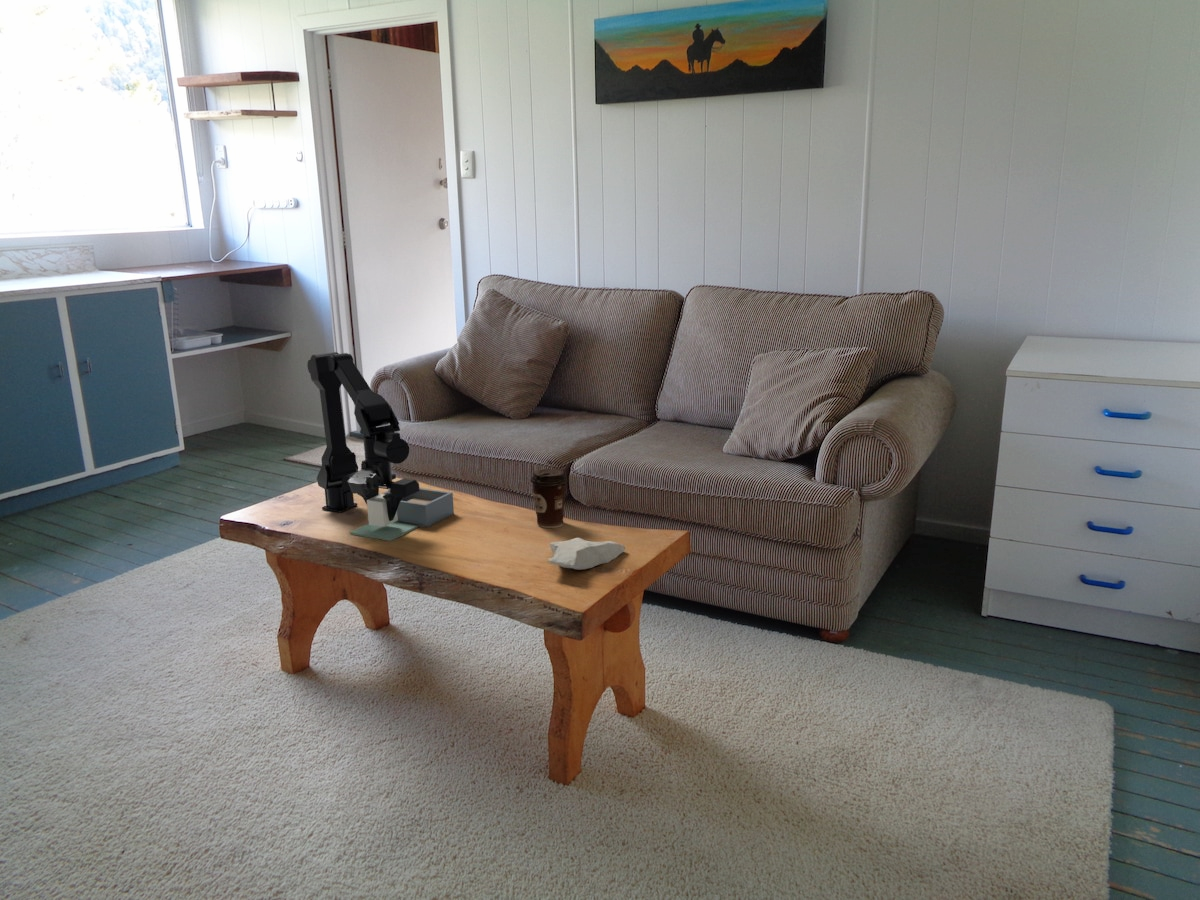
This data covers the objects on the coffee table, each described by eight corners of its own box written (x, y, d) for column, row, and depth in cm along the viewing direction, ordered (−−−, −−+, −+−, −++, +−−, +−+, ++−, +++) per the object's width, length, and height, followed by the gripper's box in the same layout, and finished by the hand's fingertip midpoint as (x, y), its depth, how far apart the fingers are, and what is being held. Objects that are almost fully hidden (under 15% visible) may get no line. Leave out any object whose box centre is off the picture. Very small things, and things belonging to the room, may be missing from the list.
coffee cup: (538, 532, 213) (535, 478, 210) (527, 521, 221) (525, 469, 218) (573, 526, 217) (571, 474, 213) (561, 516, 224) (559, 465, 221)
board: (350, 534, 215) (349, 532, 215) (377, 521, 224) (377, 519, 223) (390, 541, 210) (390, 539, 210) (417, 527, 218) (417, 525, 218)
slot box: (374, 518, 225) (372, 497, 224) (402, 505, 235) (400, 485, 233) (427, 527, 218) (425, 505, 217) (453, 513, 228) (452, 492, 226)
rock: (517, 570, 192) (570, 580, 183) (515, 549, 192) (569, 557, 182) (583, 548, 208) (635, 556, 199) (582, 528, 208) (634, 535, 198)
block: (368, 524, 215) (366, 500, 213) (382, 517, 219) (380, 494, 218) (384, 526, 213) (382, 502, 211) (397, 520, 217) (395, 496, 216)
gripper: (322, 459, 209) (328, 524, 213) (387, 468, 201) (392, 535, 205) (355, 448, 219) (360, 510, 223) (418, 455, 211) (423, 520, 215)
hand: (383, 519), depth 216 cm, fingers closed on block, 4 cm apart
